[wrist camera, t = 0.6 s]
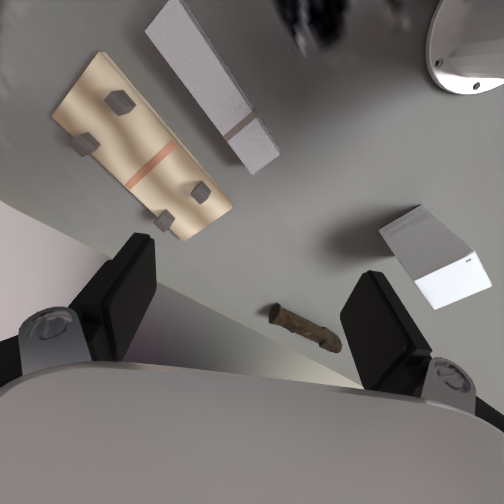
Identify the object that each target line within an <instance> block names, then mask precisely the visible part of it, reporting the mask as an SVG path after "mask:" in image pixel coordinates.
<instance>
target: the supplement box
mask: <svg viewBox="0 0 504 504" xmlns="http://www.w3.org/2000/svg"><path fill="white" fill-rule="evenodd" d="M379 232H380V234H381V235H382V237H383V238H384V240H385V241H386V243H387V244H388V246H389V247H390V249H391V250H392V252H393V253H394V255H395V256H396V258H397V259H398V261H399V262H400V264H401V265H402V267H403V268H404V270H405V271H406V273H407V274H408V275H409V277H410V278H411V280H412V281H413V283H414V284H415V286H416V287H417V288H418V290H419V291H420V293H421V294H422V295H423V296H424V298H425V299H426V300H427V302H428V303H429V304H430V305H431V307H432V308H433V309H434V310H435V309H438V308H440V307H443V306H445V305H448V304H450V303H453V302H455V301H458V300H460V299H462V298H465V297H467V296H469V295H472V294H474V293H476V292H479V291H481V290H484V289H486V288H489V287H491V286H492V284H491V282H490V280H489V278H488V276H487V274H486V272H485V270H484V268H483V266H482V264H481V262H480V260H479V258H478V256H477V254H476V252H475V251H474V250H473V249H472V248H471V247H470V246H469V245H468V244H466V243H465V242H464V241H463V240H462V239H461V238H460V237H458V236H457V235H456V234H455V233H454V232H453V231H451V230H450V229H449V228H448V227H447V226H446V225H445V224H443V223H442V222H441V221H440V220H439V219H438V218H437V217H435V216H434V215H433V214H432V213H431V212H430V211H429V210H427V209H426V208H425V207H424V206H423V205H420V206H418V207H417V208H415V209H413V210H412V211H410V212H408V213H406V214H405V215H403V216H401V217H400V218H398V219H396V220H394V221H393V222H391V223H389V224H388V225H386V226H384V227H383V228H381V229H380V230H379Z"/></svg>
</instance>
